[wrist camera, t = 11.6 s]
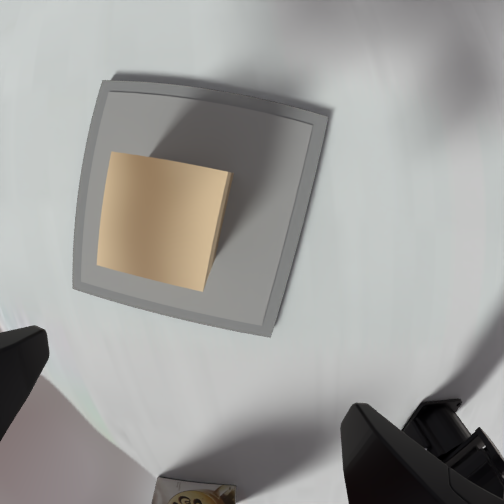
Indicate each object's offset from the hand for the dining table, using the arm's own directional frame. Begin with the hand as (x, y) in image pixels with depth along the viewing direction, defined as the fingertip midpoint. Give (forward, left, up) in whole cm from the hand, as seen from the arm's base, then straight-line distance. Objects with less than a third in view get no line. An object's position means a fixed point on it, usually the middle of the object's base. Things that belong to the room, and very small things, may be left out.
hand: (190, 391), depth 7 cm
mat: (+3, -3, -12) cm, 12 cm away
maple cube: (+3, -3, -11) cm, 11 cm away
